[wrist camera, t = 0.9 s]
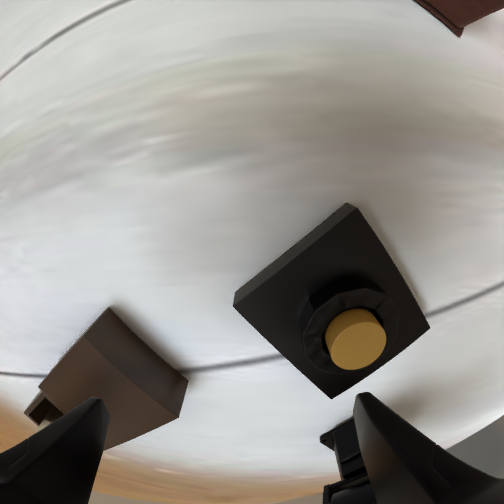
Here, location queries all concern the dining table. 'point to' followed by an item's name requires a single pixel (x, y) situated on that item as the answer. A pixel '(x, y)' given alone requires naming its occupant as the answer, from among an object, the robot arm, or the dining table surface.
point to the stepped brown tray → (113, 381)
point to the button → (355, 339)
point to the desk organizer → (461, 11)
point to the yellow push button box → (331, 298)
